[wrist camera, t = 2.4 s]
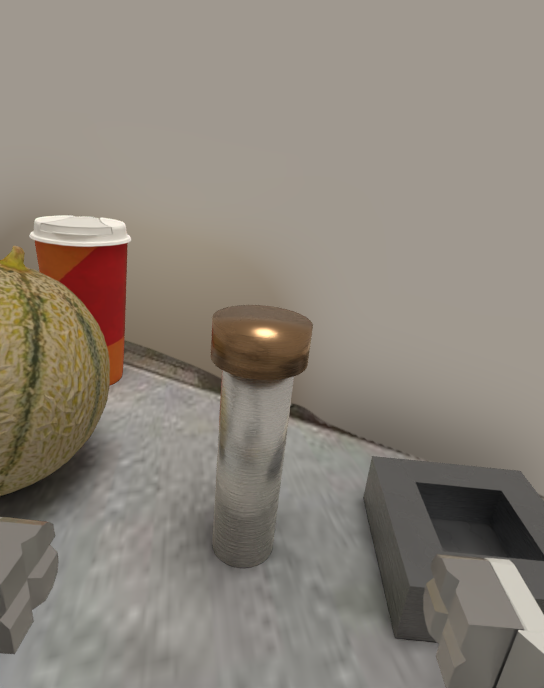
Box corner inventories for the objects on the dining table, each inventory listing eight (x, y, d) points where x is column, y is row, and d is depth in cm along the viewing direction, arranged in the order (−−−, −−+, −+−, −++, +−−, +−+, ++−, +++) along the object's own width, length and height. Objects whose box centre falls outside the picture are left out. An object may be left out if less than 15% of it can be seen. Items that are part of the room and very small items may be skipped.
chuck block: (395, 637, 22) (409, 586, 20) (363, 497, 31) (372, 456, 30) (658, 663, 22) (689, 613, 21) (548, 516, 31) (564, 475, 30)
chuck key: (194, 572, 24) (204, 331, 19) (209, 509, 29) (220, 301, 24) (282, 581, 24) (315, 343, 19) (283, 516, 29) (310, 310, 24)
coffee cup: (55, 358, 47) (41, 212, 41) (136, 358, 49) (133, 218, 43) (34, 397, 39) (13, 224, 34) (131, 395, 41) (127, 231, 36)
